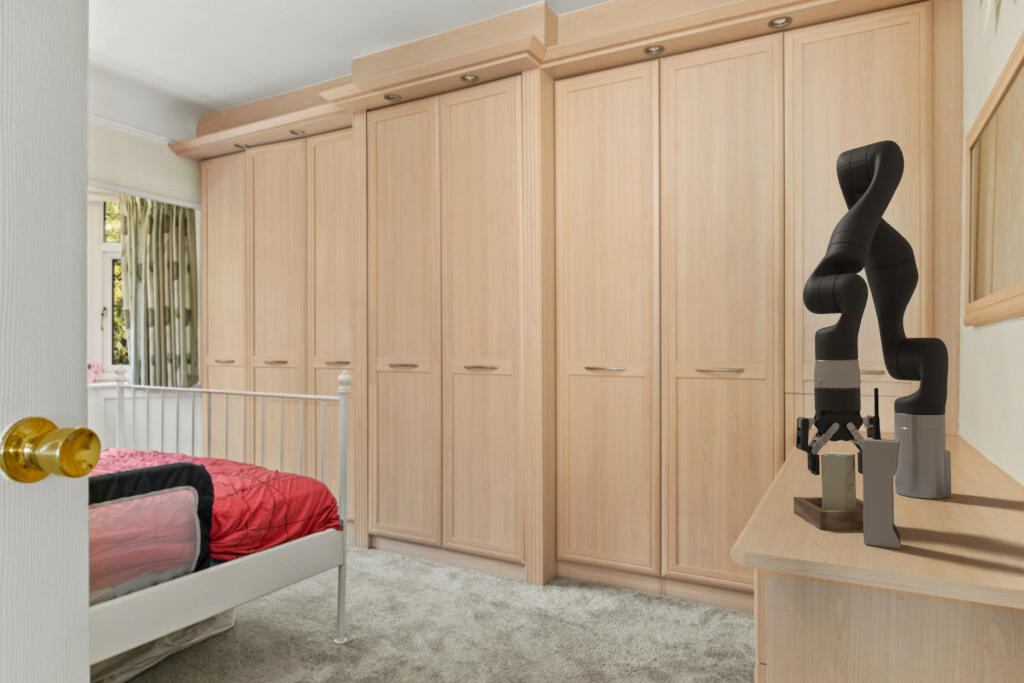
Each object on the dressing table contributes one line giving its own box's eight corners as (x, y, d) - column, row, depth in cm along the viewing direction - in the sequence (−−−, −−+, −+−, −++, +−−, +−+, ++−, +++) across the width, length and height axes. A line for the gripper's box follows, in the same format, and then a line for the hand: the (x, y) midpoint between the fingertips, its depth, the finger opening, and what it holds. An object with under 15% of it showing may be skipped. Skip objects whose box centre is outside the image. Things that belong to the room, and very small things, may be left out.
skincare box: (848, 526, 114) (847, 457, 114) (821, 522, 117) (820, 454, 117) (857, 519, 119) (856, 452, 119) (831, 515, 122) (830, 450, 122)
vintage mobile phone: (900, 550, 101) (897, 388, 101) (863, 544, 104) (861, 387, 104) (901, 543, 104) (899, 387, 104) (865, 539, 107) (863, 386, 107)
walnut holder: (854, 512, 124) (854, 496, 124) (887, 529, 112) (887, 512, 112) (793, 512, 124) (793, 497, 124) (820, 529, 113) (820, 512, 113)
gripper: (866, 382, 122) (867, 469, 122) (789, 384, 122) (790, 470, 122) (888, 385, 114) (890, 477, 114) (806, 386, 115) (808, 479, 115)
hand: (838, 474), depth 118 cm, fingers open, 8 cm apart
